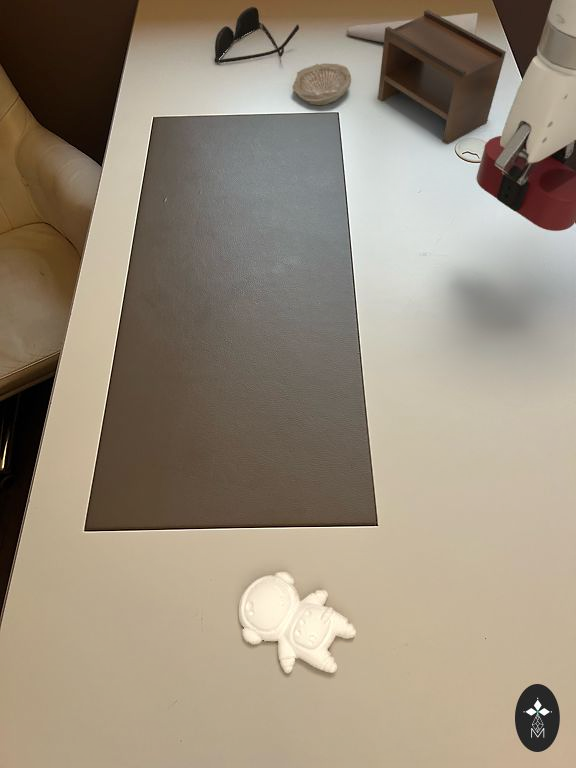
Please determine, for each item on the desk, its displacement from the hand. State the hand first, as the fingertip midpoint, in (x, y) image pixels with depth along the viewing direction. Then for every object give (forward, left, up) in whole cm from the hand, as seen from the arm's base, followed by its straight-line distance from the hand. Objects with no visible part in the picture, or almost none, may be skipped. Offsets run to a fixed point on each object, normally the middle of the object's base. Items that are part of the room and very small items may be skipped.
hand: (526, 192), depth 75 cm
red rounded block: (0, 0, -1) cm, 1 cm away
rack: (-25, -37, -18) cm, 48 cm away
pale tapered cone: (-36, -55, -18) cm, 68 cm away
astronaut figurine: (+50, +19, -18) cm, 56 cm away
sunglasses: (-13, -73, -18) cm, 76 cm away
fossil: (-13, -54, -18) cm, 58 cm away
